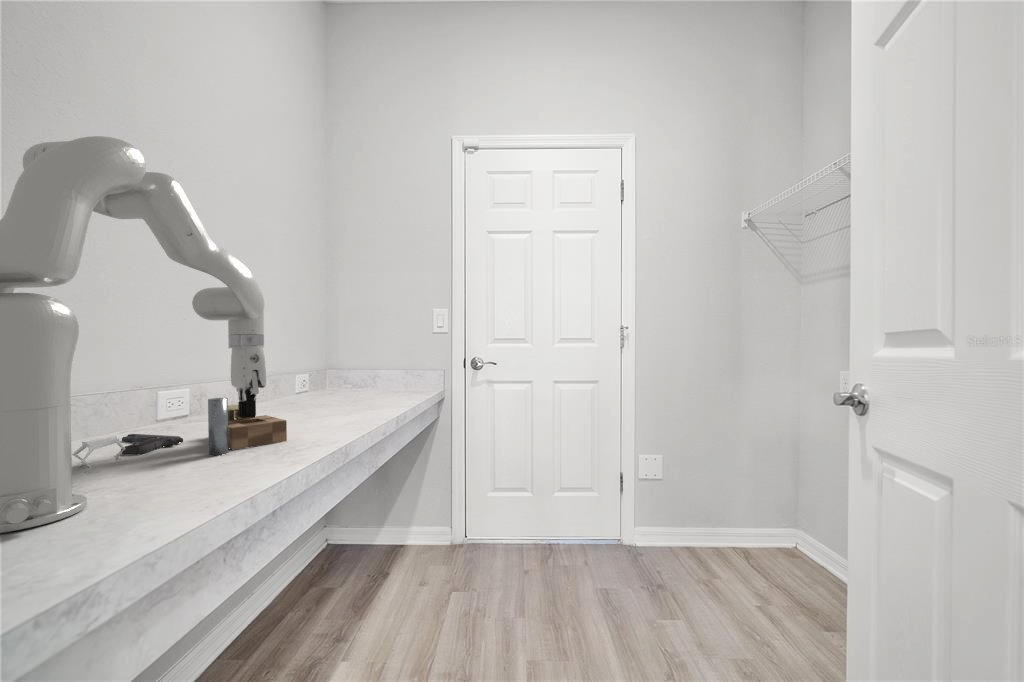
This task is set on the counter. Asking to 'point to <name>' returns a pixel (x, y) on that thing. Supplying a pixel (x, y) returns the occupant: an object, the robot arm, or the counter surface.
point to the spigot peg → (218, 426)
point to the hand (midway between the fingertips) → (247, 416)
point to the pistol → (148, 442)
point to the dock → (255, 431)
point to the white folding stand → (97, 444)
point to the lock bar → (235, 410)
